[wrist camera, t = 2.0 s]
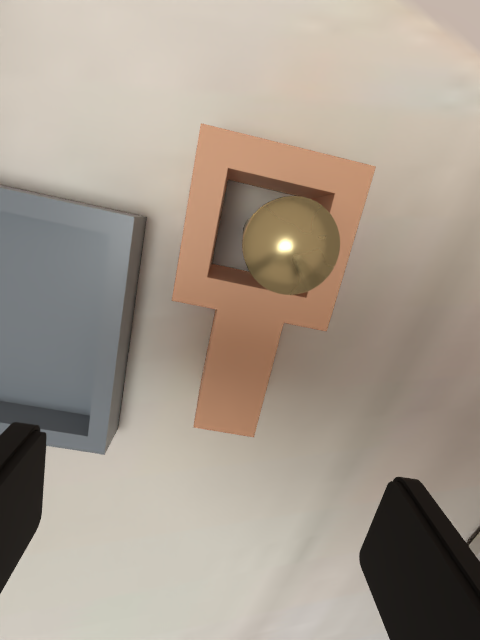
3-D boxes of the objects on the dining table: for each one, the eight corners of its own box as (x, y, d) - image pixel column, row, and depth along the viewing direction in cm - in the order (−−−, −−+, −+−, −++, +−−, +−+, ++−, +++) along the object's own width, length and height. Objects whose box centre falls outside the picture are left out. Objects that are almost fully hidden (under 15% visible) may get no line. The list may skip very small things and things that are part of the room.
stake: (289, 212, 18) (352, 207, 9) (277, 260, 19) (324, 303, 10) (241, 201, 18) (255, 185, 9) (231, 250, 19) (234, 284, 10)
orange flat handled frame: (340, 178, 18) (375, 166, 14) (280, 398, 22) (292, 443, 17) (207, 146, 17) (201, 123, 13) (167, 378, 21) (152, 420, 17)
